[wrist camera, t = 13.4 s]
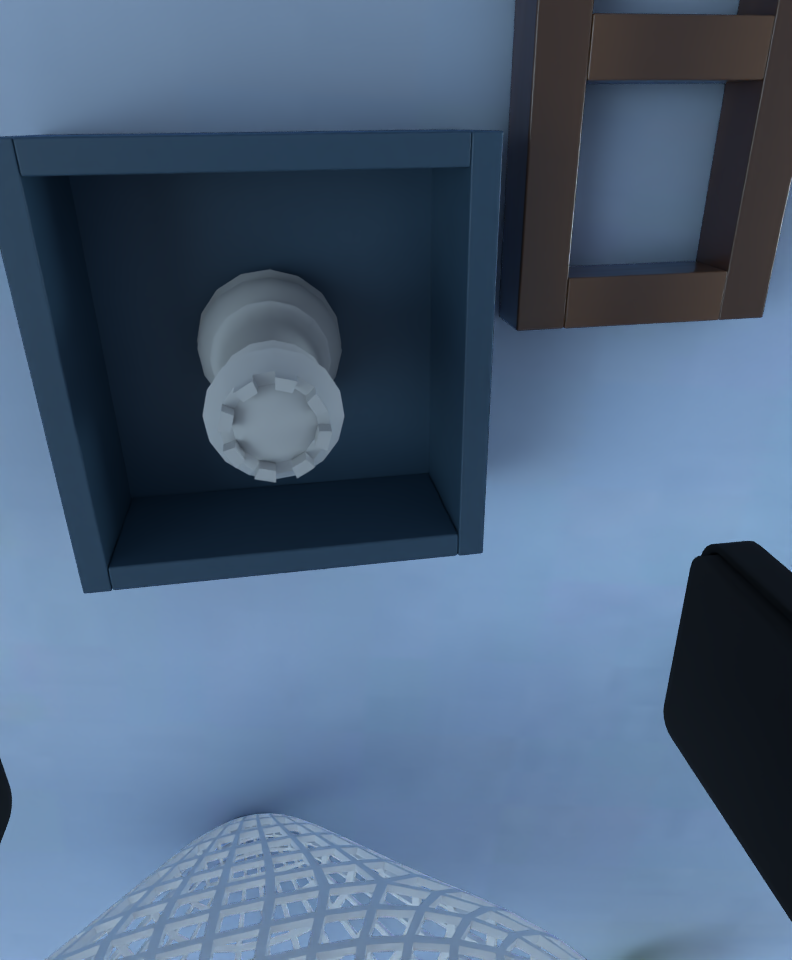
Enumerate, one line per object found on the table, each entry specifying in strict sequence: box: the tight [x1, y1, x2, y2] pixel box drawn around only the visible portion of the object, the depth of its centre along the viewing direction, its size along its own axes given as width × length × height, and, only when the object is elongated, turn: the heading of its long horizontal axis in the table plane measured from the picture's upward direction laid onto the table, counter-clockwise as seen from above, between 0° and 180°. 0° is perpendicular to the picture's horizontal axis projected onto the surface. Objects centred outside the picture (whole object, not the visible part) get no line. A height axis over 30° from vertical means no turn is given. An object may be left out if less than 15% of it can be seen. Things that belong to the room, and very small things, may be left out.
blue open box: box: [0, 129, 503, 593], centre depth 22 cm, size 12×12×5 cm
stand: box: [499, 0, 792, 331], centre depth 21 cm, size 9×16×2 cm, turn 0°
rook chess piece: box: [197, 269, 344, 482], centre depth 20 cm, size 4×4×8 cm
